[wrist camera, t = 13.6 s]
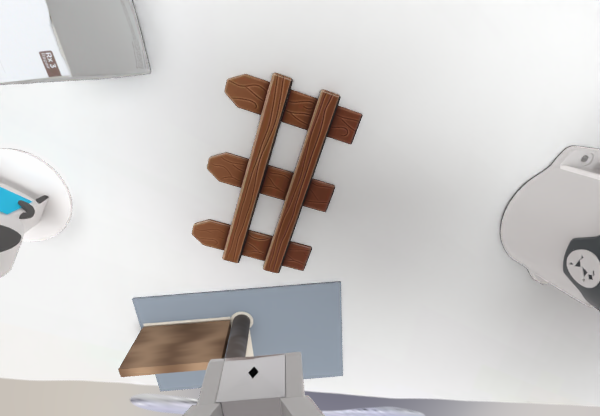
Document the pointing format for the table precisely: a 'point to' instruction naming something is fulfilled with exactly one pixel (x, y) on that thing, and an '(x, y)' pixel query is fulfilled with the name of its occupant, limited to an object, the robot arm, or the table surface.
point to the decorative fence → (275, 169)
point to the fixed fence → (185, 346)
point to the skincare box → (69, 41)
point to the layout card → (259, 324)
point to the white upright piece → (29, 203)
